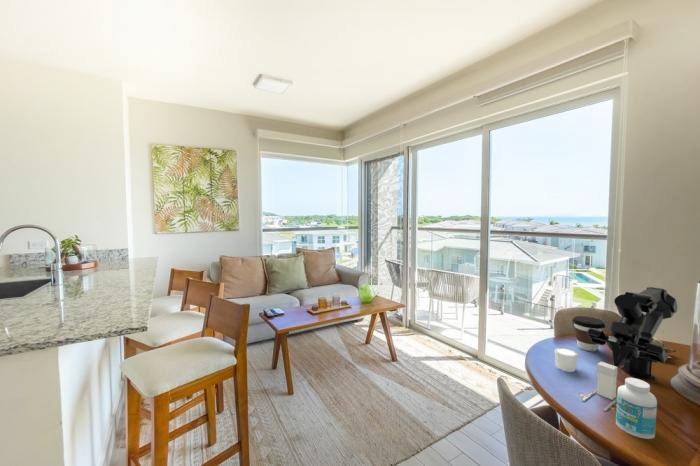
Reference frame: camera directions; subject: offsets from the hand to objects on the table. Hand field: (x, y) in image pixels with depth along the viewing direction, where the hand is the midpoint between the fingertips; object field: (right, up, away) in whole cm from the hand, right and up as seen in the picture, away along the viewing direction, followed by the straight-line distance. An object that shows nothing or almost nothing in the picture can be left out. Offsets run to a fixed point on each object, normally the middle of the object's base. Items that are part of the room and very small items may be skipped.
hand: (615, 367), depth 95 cm
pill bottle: (-10, -10, -17) cm, 22 cm away
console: (-7, -9, -4) cm, 12 cm away
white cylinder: (-6, -8, +14) cm, 17 cm away
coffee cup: (+16, -6, +31) cm, 36 cm away
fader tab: (-6, -7, -3) cm, 10 cm away
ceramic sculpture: (+36, -6, +26) cm, 44 cm away
